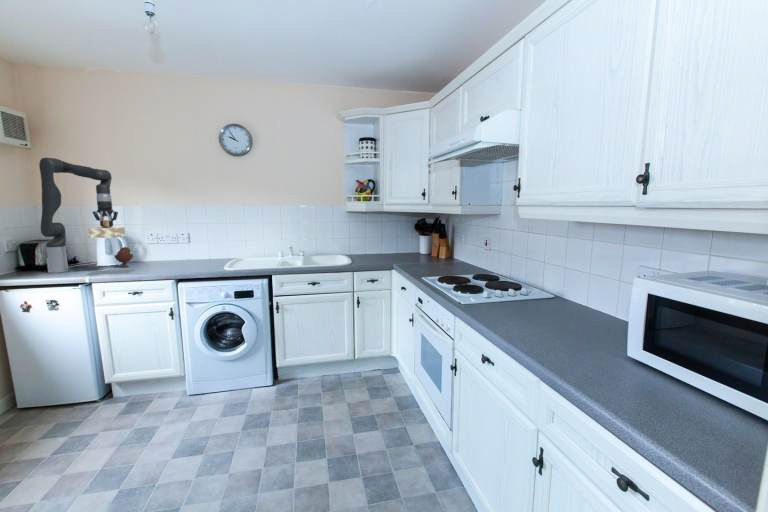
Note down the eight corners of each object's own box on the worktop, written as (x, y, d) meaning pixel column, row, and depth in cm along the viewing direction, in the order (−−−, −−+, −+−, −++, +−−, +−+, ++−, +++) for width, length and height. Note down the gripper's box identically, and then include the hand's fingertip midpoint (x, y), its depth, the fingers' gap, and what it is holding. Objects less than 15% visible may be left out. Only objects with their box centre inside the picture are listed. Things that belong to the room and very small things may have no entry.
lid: (89, 237, 221) (87, 220, 220) (100, 235, 235) (98, 219, 233) (115, 237, 225) (114, 220, 224) (125, 235, 239) (123, 219, 238)
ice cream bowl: (117, 267, 254) (115, 246, 251) (135, 266, 258) (134, 246, 256) (113, 269, 244) (111, 248, 242) (132, 268, 249) (130, 248, 247)
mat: (84, 275, 223) (84, 275, 223) (96, 271, 237) (96, 270, 237) (127, 274, 230) (127, 273, 230) (136, 270, 244) (136, 269, 244)
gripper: (88, 200, 221) (91, 227, 224) (114, 200, 225) (117, 227, 228) (94, 200, 228) (97, 226, 231) (119, 200, 232) (122, 226, 235)
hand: (107, 226), depth 229 cm, fingers closed on lid, 4 cm apart
